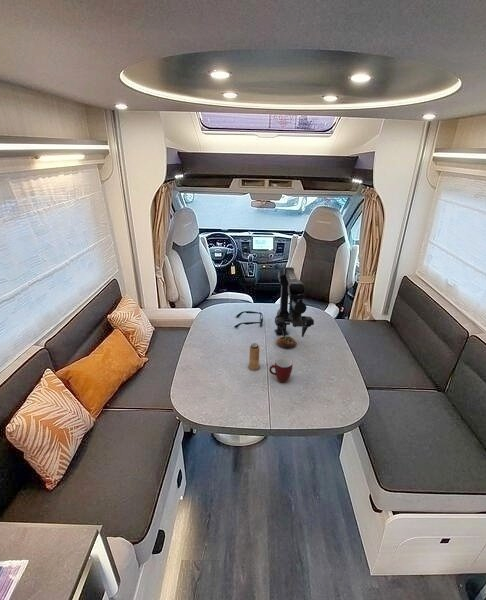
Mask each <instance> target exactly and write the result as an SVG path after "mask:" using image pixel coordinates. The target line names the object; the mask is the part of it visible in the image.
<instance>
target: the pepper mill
mask: <svg viewBox="0 0 486 600" xmlns="http://www.w3.org/2000/svg"><path fill="white" fill-rule="evenodd" d="M260 349H261V347H260V345H259V344H258V343H256V342H254V343H251V344H250V345H249V358H248V359H249V361H248V363H249V365H248V367H249V370H251V371H257V370H259V368H260Z"/></svg>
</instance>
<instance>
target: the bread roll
mask: <svg viewBox="0 0 486 600" xmlns="http://www.w3.org/2000/svg"><path fill="white" fill-rule="evenodd" d="M276 344H277V346H279V347H281V348H283V349H291V348H294V347H295V346H296V345H297V340H296V339H295V338H294V337H292V336H288V335H285V338H284V336H281V337H279V338H278V339H277V341H276Z"/></svg>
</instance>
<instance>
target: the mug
mask: <svg viewBox="0 0 486 600" xmlns="http://www.w3.org/2000/svg"><path fill="white" fill-rule="evenodd" d="M272 369H274V370H275V371H274V372H273V371H272ZM268 371H269V373H270V374H271V375H273V376H275V377H276V379H277V380H278V382H279V383H286V382H287V381H288V380H289V379H290V377H291V374H292V371H293V361H292V360H291V358H288V357H278V358H276V359H275V361H274V364H272V365H270V366H269V368H268Z"/></svg>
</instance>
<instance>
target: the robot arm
mask: <svg viewBox="0 0 486 600" xmlns="http://www.w3.org/2000/svg"><path fill="white" fill-rule="evenodd" d="M277 278H278V281H279V284H280V299H279V301H280V302H279V303H280V304H279V309H278V310H277V312H276V315H275V317H274V324H275V326H276V329H274V331H275V333H276V335H277V336H283V337H284V338H285V336H288V335H289V332H288V331H287V328H288V326H290V325H292V327H293V328H299V327H300V328H301V337H302V338H304V336H305V334H306V331H307V330H308V328H310V327H312V326H315V320H314V318H313V317H311V316H307V315H303V314H304V313H306V311H307V304H306V303H305V302H304V300H303V299H306V298H307V291H306V287H305V284H304V283H303V282H302V280H299V279H298V278H297V275H296V273H295V268H294V267H292V266H288V267H287V266H286V267H284V268H282V269H280V270H278V272H277Z"/></svg>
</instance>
